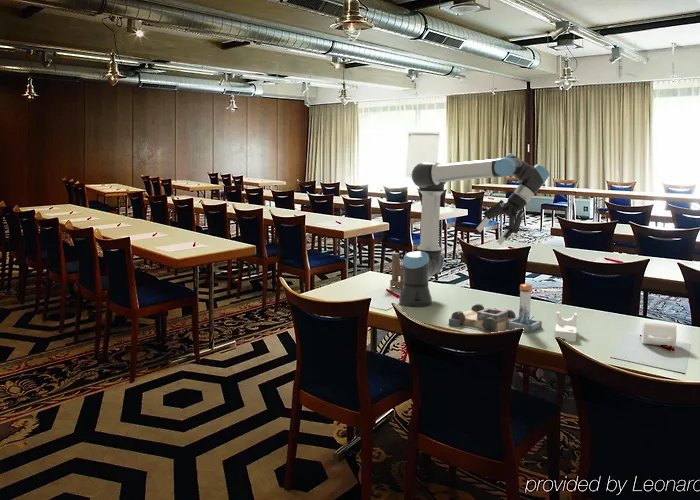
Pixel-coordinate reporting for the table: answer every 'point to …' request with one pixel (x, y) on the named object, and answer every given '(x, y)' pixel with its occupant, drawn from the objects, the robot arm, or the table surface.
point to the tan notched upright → (396, 272)
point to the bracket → (566, 327)
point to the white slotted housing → (658, 333)
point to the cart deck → (478, 323)
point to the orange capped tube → (525, 304)
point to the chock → (454, 322)
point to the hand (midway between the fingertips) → (488, 236)
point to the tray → (527, 328)
